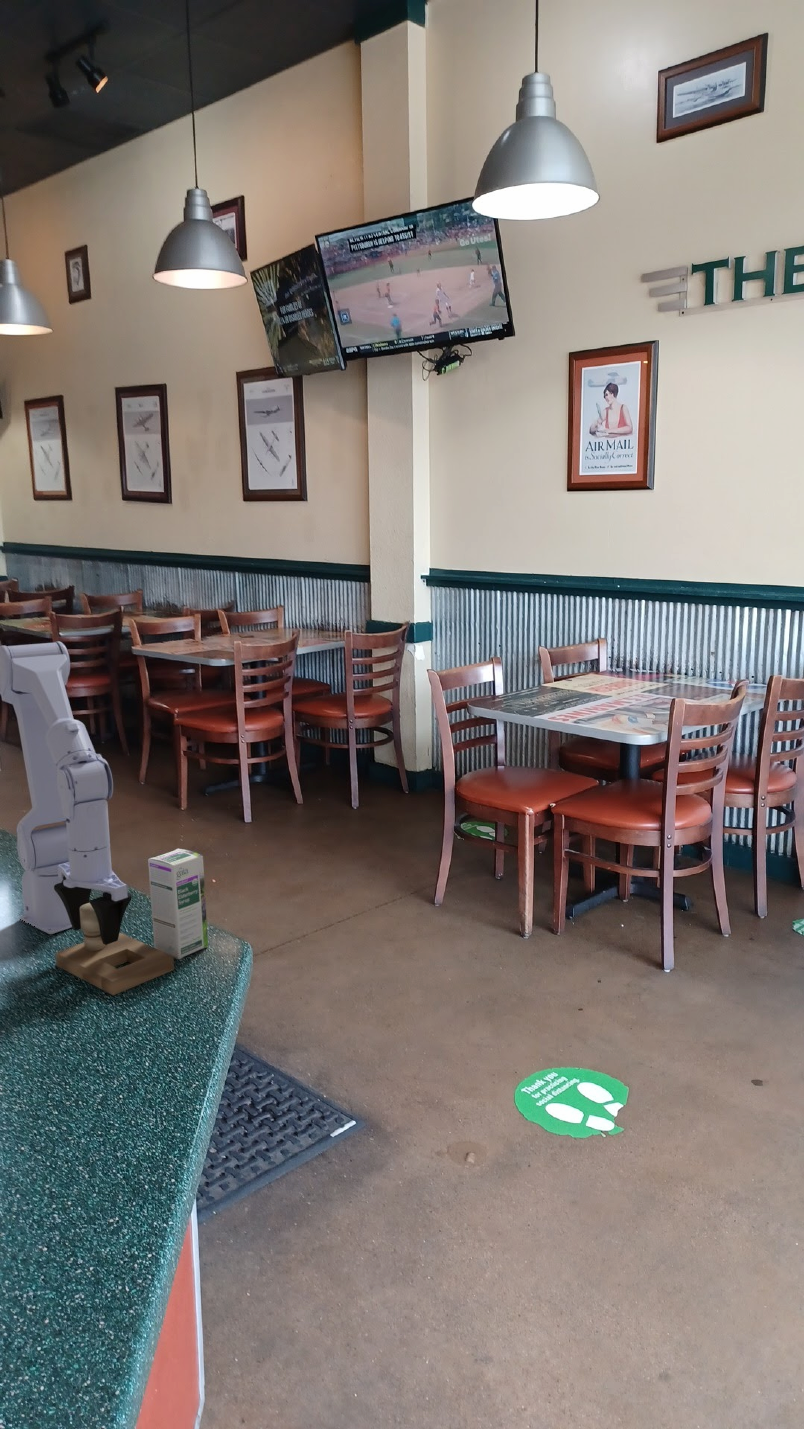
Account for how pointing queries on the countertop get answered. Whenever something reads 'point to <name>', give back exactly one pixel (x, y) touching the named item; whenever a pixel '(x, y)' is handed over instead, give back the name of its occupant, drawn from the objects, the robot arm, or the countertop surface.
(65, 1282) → the countertop surface
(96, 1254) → the countertop surface
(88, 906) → the peg
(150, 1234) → the countertop surface
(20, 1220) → the countertop surface
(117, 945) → the board
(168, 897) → the syrup box
